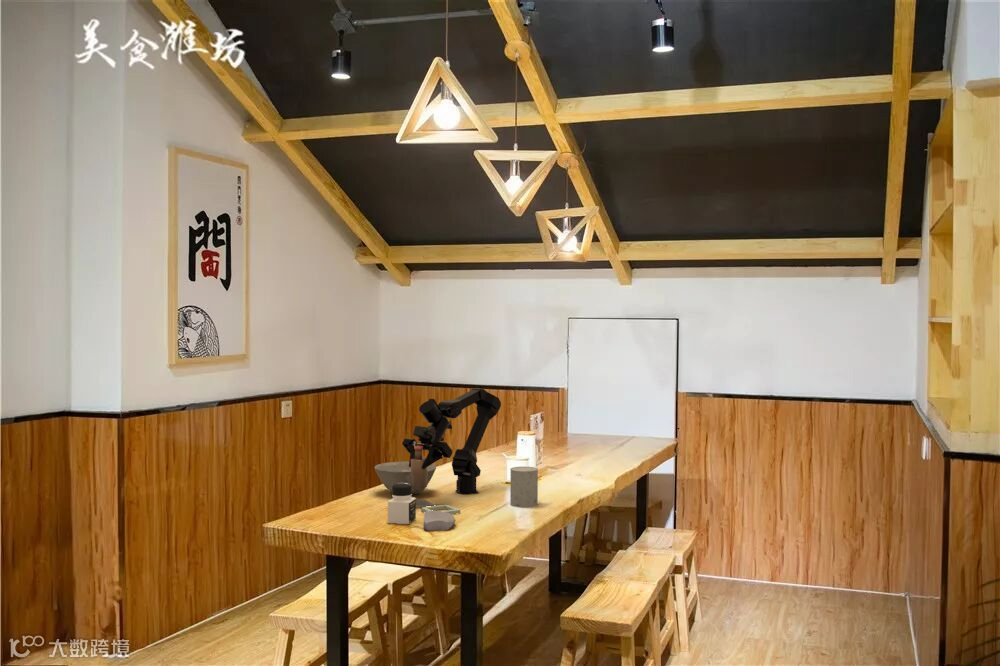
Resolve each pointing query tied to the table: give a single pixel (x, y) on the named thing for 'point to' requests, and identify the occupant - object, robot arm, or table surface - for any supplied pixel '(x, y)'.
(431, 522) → the stone block
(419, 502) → the slate pad
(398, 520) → the medicine bottle
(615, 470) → the table surface
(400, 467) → the ceramic bowl
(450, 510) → the pocket frame
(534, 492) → the grey matte cylinder
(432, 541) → the table surface
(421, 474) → the sauce bottle
